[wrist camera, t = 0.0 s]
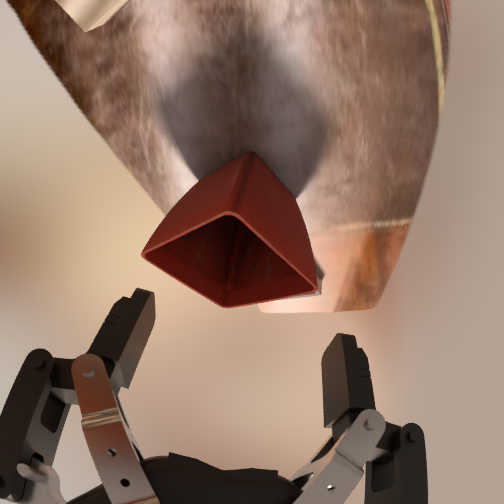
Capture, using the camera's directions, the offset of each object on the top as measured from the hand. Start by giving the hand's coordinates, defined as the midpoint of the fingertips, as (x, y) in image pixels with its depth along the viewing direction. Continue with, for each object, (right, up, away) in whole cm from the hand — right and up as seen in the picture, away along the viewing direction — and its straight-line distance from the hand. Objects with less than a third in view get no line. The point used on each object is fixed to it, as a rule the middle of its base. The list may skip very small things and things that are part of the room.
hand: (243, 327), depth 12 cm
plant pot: (0, +14, +37) cm, 39 cm away
